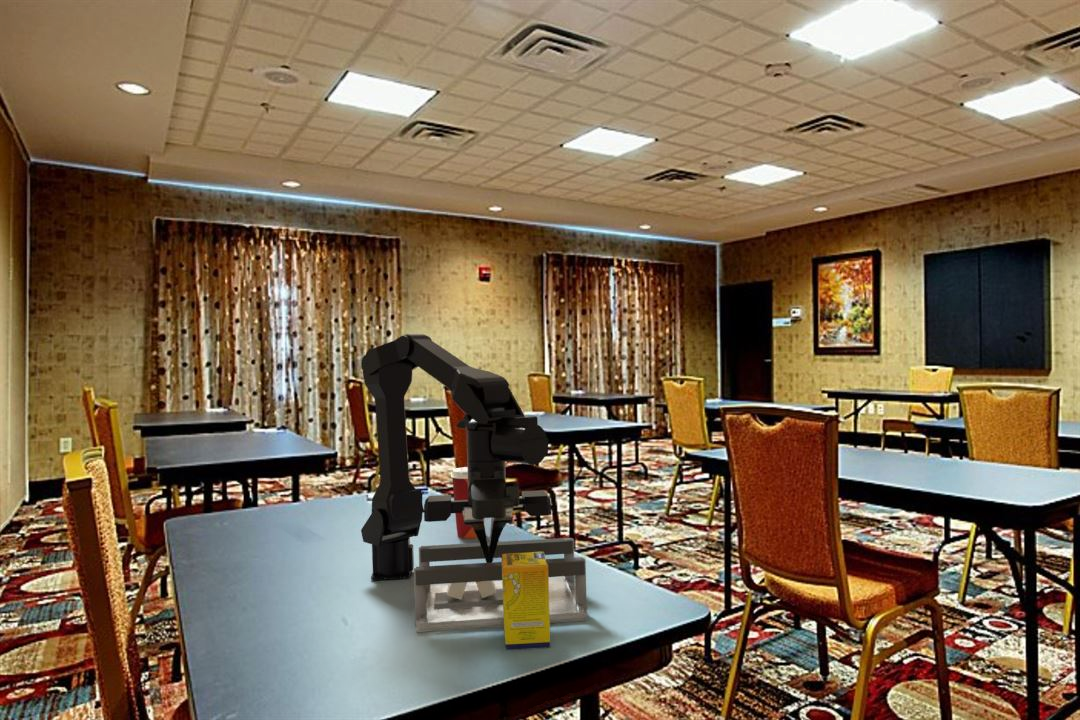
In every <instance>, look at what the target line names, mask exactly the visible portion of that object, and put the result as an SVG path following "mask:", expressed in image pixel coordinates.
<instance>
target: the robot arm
mask: <svg viewBox="0 0 1080 720" xmlns="http://www.w3.org/2000/svg"><path fill="white" fill-rule="evenodd" d="M360 363H361V364H360V365H361V367H360V368H361V370H362V376H363V381H364V385H365V387H366V389H367V390H368V391H369V393H370V394H371V396H372V398H373V399H374V403H375V417H376V418H375V419H376V420H375V421H376V422H375V423H376V434H377V435H376V436H377V451H378V452H377V453H378V465H379V468H378V469H379V484H378V486H377V488H376V491H375V492H374V494H373V497H372V499H371V514H370V515H369V516H368V518H367V520H366V521H365V523H364V524H363V526H362V528H361V529H360V534H361V536H362V537H361V538H362V541H363V543H366V544H370V545H371V557H372V558H371V559H372V574H371V576H370V581H379V580H396V579H397V580H399V579H409V578H410V577H411V573H412V572H414V567H415V563H414V562H415V561H414V560H415V558H414V553H415V552H414V544H413V543H411V540H410V538H412V537H418V536H419V533H420V529H421V524H422V520H423V521H424V522H427V523H429V522H433V523H434V522H446V521H447V520H448V519H449V518H450V517H451V516H452V514H455V513H463V516H464V525H471V527H472V528H473V530H474V532H475V534H476V535H477V537H478V538H477V540H478V543H480V545H481V548H482V551H483V554H484V557H485V563H491V562H493V560H494V558H493V557H494V554H495V550H496V547H497V543H498V542H499V539H500V537H501V535H502V532H503V530H504V528H505V526H506V524H512V523H513V522H514V517H513V515H512V514H513V513H514V511H524V510H525V512H526V514H527V515H528V516H530V517H543V516H547V517H548V516H551V515H552V501H551V497H550V496H549V493H547V492H546V491H545V490H544V489H540V490H522V491H521V496H520V492H519V491H520V486H519V481H507V477H506V476H507V475H506V463H514V464H523V465H532V466H536V465H538V464H540V463H541V462H543V460H544V459H545V458H546V456H547V454H548V449H549V438H548V437H547V434H546V432H545V431H546V430H544V428H543V427H542V426H540V425H539V424H538V417H537V416H533V415H529V416H525V414H524V412H523V410H522V408H521V406H520V405H519V403H518V401H517V400H516V398H515V396H514V394H513V392H512V390H511V389H510V387H509V386H510V385H509V382H508V380H507V379H506V378H505V377H504V376H502V375H499V374H497V373H495V372H491V371H488V370H485V369H480V368H475V367H473V366H470V365H469V364H467V363H465V362H464V361H463V360H461V359H459V358H458V357H457V356H455V355H453V353H451V352H449V351H448V350H446V349H445V348H443V347H442V346H440V345H439V344H437V342H434V341H433V340H432V338H431V337H430V336H428V335H426V334H423V333H405V334H403V335H401V336H399V337H397V338H396V339H394V340H392V341H389V342H387V343H384V344H382V345H378V346H376V347H371V348H369V349H368V350H367V351H366V352H365V355H364V356H362V358H361V361H360ZM417 368H420V369H421V370H422V371H424V372H426V374H428V375H429V376H431V377H432V378H433V379H435V380H436V381H437V382H439V383H440V384H441V385H443V386H445V387H446V388H447V389H448V391H450V395H451V400H452V401H453V402H454V403H455V404H456V406H457V407H458V408H459V409H460V410H461V411H462V412H463V413H464V414H465V415H464V416H463V417H462V418H461V419H460V420H459V421H458V422H457V424H456V428H457V429H462V430H463V429H464V430H465V429H466V430H465V431H466V455H467V458H466V459H467V460H466V461H467V462H466V464H467V466H466V467H467V468H468V500H457V501H454V500H452V494H439V495H429V496H428V497H426V498H425V501H424V504H423V497H424V495H423V492H422V490H421V489H420V488H419V489H416V487H415V486H414V485H413V483H412V481H411V479H410V468H409V456H408V452H409V451H408V440H407V439H408V437H407V436H408V435H407V424H406V423H407V421H406V407H405V396H406V394H407V393H408V390H409V388H410V386H411V384H412V382H413V371H414V370H415V369H417ZM423 518H424V519H423ZM483 518H485V519H491V521H490V531H489V541H488V539H487V532H486V526H485V519H483ZM487 542H489V550H488V544H487Z"/></svg>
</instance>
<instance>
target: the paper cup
mask: <svg viewBox="0 0 1080 720" xmlns="http://www.w3.org/2000/svg"><path fill="white" fill-rule="evenodd" d="M450 477H451V479H452V491H453V501H457V500H468V468H467V466H464V467H457V468H453V469H452V473H451V474H450ZM454 515H455V523H456V526H455V527H456V534H457V537H458V538H460V539H466V540H467V539H470V540H471V539H472V540H473V539H478V537H477V535H476V534H475V532H474V530H473V528H472V527H471V525H464V516H463V513H454ZM483 519H484V520H485V519H486V518H483Z"/></svg>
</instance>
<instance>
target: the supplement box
mask: <svg viewBox="0 0 1080 720" xmlns="http://www.w3.org/2000/svg"><path fill="white" fill-rule="evenodd" d="M546 559H547V558H546V555H545V554H544V552H529V553H509V554H502V558H501V562H502V580H501V581H502V585H503V614H504V626H503V633H504V645H505V646H504V647H505V650H506V651H517V650H518V651H519V650H533V649H546V648H547V649H548V648H550V647H551V626H550V625H551V623H550V616H549V580H548V578H549V577H548V564H547V563H546Z"/></svg>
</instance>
